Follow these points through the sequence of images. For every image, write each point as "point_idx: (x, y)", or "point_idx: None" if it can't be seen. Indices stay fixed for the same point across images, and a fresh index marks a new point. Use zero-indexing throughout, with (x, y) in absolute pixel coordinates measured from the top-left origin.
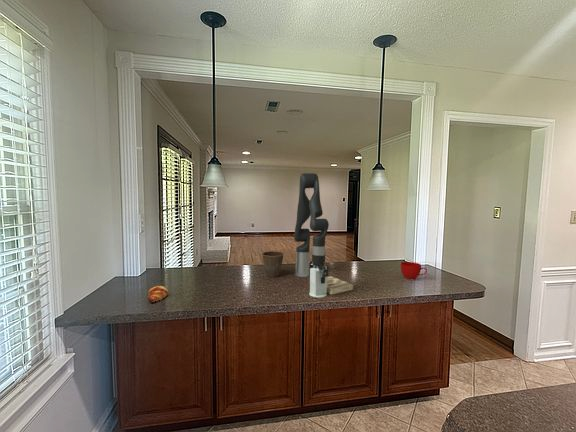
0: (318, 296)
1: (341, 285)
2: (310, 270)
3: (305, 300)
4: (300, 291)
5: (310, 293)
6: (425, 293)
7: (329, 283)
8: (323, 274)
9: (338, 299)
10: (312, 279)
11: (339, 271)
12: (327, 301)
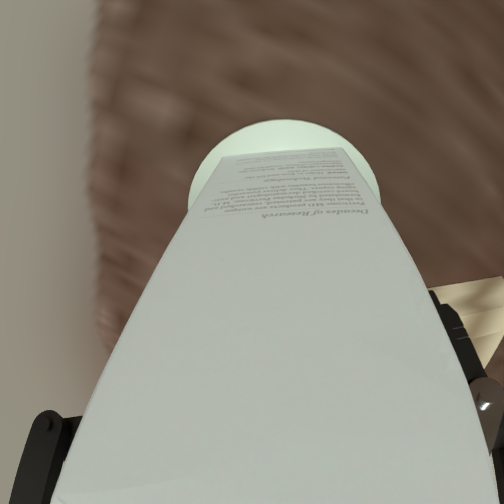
0: (194, 177)
1: None
2: (458, 466)
3: (165, 7)
4: (451, 98)
5: (321, 141)
6: None
7: None
8: (46, 450)
9: (120, 296)
10: (284, 251)
11: None
12: (89, 205)
